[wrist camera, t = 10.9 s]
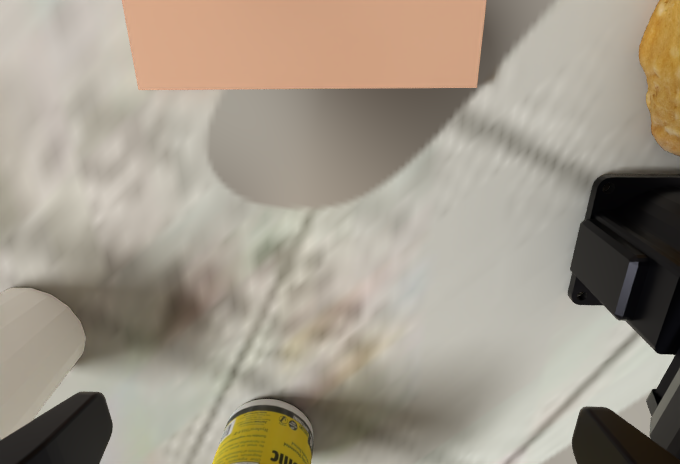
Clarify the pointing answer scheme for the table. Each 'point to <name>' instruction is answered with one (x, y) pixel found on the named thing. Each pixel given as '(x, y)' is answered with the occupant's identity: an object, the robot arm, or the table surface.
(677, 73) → the bagel
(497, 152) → the table surface
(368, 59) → the tile mat
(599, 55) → the table surface
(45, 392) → the white cup
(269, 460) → the supplement bottle
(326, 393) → the table surface
